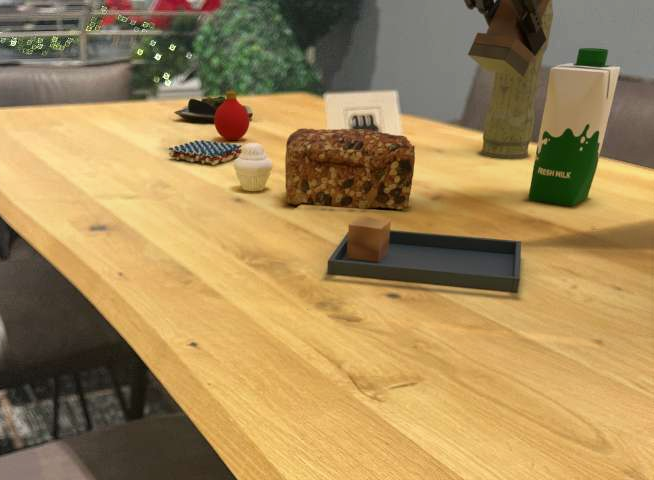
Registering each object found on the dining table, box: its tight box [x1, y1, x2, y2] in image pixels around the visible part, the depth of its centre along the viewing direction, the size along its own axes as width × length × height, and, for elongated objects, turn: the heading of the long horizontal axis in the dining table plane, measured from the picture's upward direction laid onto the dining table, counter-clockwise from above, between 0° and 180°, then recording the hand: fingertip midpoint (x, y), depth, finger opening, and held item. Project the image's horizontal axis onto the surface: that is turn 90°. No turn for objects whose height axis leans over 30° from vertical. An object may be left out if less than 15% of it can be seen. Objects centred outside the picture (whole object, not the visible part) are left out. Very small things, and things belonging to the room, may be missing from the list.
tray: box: [326, 229, 522, 294], centre depth 91 cm, size 21×14×2 cm
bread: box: [284, 128, 416, 210], centre depth 113 cm, size 19×11×10 cm, turn 84°
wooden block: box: [347, 216, 392, 263], centre depth 92 cm, size 4×4×4 cm
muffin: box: [233, 141, 273, 192], centre depth 120 cm, size 6×6×7 cm
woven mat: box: [168, 139, 243, 166], centre depth 140 cm, size 10×11×2 cm
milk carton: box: [527, 47, 621, 207], centre depth 113 cm, size 9×9×20 cm
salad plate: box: [173, 95, 254, 125], centre depth 177 cm, size 19×18×5 cm
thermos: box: [480, 0, 554, 160], centre depth 136 cm, size 9×12×35 cm
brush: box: [467, 0, 550, 77], centre depth 105 cm, size 7×5×13 cm
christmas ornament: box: [213, 84, 250, 141], centre depth 153 cm, size 7×7×10 cm
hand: (523, 46), depth 108 cm, fingers closed on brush, 4 cm apart
